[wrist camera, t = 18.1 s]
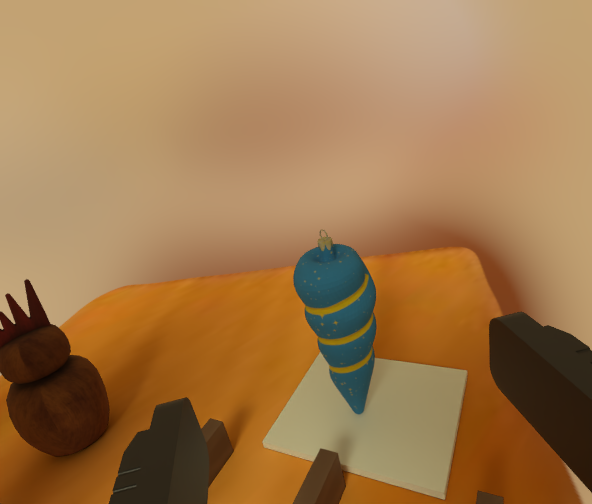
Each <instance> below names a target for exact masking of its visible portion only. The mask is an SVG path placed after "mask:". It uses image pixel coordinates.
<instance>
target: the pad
mask: <svg viewBox="0 0 592 504" xmlns="http://www.w3.org/2000/svg"><path fill="white" fill-rule="evenodd" d="M467 377H468V375H467V370H460V369H453V368H446V367H439V366H431V365H424V364H417V363H409V362H402V361H395V360H388V359H380V358H375V362H374V368H373V373H372V377H371V381H370V386H369V390H368V394H367V399H366V403H365V408H364V411H363V413H361V414H356V413H354V411H353V410H352V409H351V407H350V406H349V404H348V403H347V401H346V400H345V399H344V397H343V396H342V395H341V393H340V392H339V390H338V389H337V388H336V386H335V385H334V383H333V381H332V379H331V377H330V374H329V364H328V363H327V361H326V360H325V358H324V357H323V355H322V353H321V352H320V353H319V355H318V356H317V358H316V359H315V361H314V362H313V364H312V365H311V367H310V369H309V370H308V372H307V373H306V375H305V376H304V378H303V379H302V381H301V383H300V384H299V386H298V387H297V389H296V390H295V392H294V393H293V395H292V396H291V398H290V400H289V401H288V403H287V404H286V406H285V407H284V409H283V410H282V412H281V414H280V415H279V417H278V418H277V420H276V421H275V423H274V424H273V426H272V427H271V429H270V431H269V432H268V434H267V435H266V437H265V438H264V440H263V441H262V442H263V445H264V447H265V448H268V449H271V450H275V451H278V452H282V453H285V454H289V455H292V456H295V457H299V458H302V459H306V460H309V461H313V462H314V460H315V458H316V456H317V454H318V452H319V450H320V448H322V449H326V450H329V451H333V452H337V453H338V456H339V460H340V464H341V468H342V470H344V471H347V472H351V473H354V474H357V475H361V476H364V477H368V478H371V479H375V480H378V481H381V482H385V483H388V484H392V485H395V486H399V487H402V488H406V489H409V490H412V491H416V492H419V493H423V494H426V495H430V496H433V497H437V498H440V499H443V500H445V498H446V492H447V487H448V481H449V476H450V470H451V465H452V459H453V454H454V448H455V443H456V437H457V432H458V426H459V421H460V415H461V410H462V404H463V399H464V393H465V388H466V382H467Z"/></svg>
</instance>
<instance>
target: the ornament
mask: <svg viewBox="0 0 592 504" xmlns="http://www.w3.org/2000/svg"><path fill="white" fill-rule="evenodd" d="M323 231H324V230H323ZM325 233H326V232H325ZM326 235H327V233H326ZM320 236H321V231H320ZM318 246H319V247H316V248H314V249H312V250H310V251H308V252H306V253H305V254H304V255H303V256H302V257H301V258H300V260H299V261H298V263H297V265H296V268H295V271H294V286H295V289H296V292H297V294H298V295H299V297H300V298H301V300H302V301H303V302H304V304H305V317H306V320H307V322H308V324H309V325H310V327H311V328H312V329H313V331H314V332H315V333H316V334H317V336H318V346H319V349H320V351H321V353H322V355H323V357H324V358H325V360H326V361H327V363H328V364H329V374H330V377H331V379H332V381H333V383H334V385H335V386H336V388H337V389H338V390H339V392H340V393H341V395H342V396H343V397H344V399H345V400H346V401H347V403H348V404H349V406H350V407H351V409H352V410H353V411H354V413H356V414H361V413H363V411H364V408H365V403H366V399H367V394H368V390H369V386H370V381H371V377H372V373H373V368H374V362H375V355H374V349H373V346H372V345H373V342H374V338H375V334H376V319H375V316H374V313H373V309H374V306H375V301H376V289H375V285H374V282H373V280H372V278H371V275H370V273H369V271H368V270H367V268H366V266H365V264H364V263H363V261H362V260H361V258H360V257H359V255H358V254H357V252H356V251H354V249H352V248H351V247H349V246H345V245H340V244H333V243H332V239H331V237H328V236H327V237H323V238H322V236H321V239H319V240H318Z"/></svg>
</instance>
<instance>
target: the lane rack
mask: <svg viewBox="0 0 592 504" xmlns="http://www.w3.org/2000/svg"><path fill="white" fill-rule="evenodd" d="M201 430H202V433H203V436H204V438H205V441H206V444H207V448H208V454H209V482H208V487H209V486H210V484H211V483H212V481H213V480H214V478H215V477H216V476H217V474H218V473H219V471H220V470H221V468H222V467H223V466H224V464H225V463H226V461H227V460H228V458H229V457H230V456H231V454H232V453H233V448H232V445H231V443H230V440H229V437H228V435H227V432H226V429H225V427H224V424H223V422H222V421H218V420H214V419H211V418H210V419H209V420H208V422H207V423H206V424H205V425H204V426H203V428H202V429H201ZM345 487H346V485H345V481H344V476H343V472H342V468H341V464H340V460H339V456H338V453H337V452H333V451H329V450H326V449H322V448H320V450H319V452H318V454H317V456H316V458H315V460H314V462H313V464H312V466H311V468H310V470H309V472H308V474H307V476H306V478H305V480H304V482H303V484H302V486H301V488H300V490H299V492H298V494H297V496H296V498H295V500H294V502H293V504H339V501H340V499H341V496H342V494H343V491H344V489H345ZM476 504H503V497H500V496H496V495H493V494H489V493H485V492H482V491H478V492H477V501H476Z"/></svg>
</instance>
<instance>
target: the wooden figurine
mask: <svg viewBox="0 0 592 504" xmlns="http://www.w3.org/2000/svg"><path fill="white" fill-rule="evenodd" d="M24 282H25V288H26V294H27V300H28V306H29V311H30V317H28V316H27V315H26V314H25V312H24V311H23V310H22V309H21V307H20V306H19V305H18V304H17V303H16V301H15V300H14V299H13V298H12V296H11V295H10V294H6V295H5V296H6V299H7V301H8V304H9V307H10V310H11V312H12V314H13V318H14V320H15V323H16V324H13V323H12V322H11V321H10V320H9V319H8V318H7V317H6V316H5V315H4V314H3V313H2V312H0V320H1V323H2V326H3V328H4V329H3V330H1V329H0V372H1V374H2V375H3V376H4V378H5V379H7V380H8V381H10V382H13V383H12V384H11V386H10V389H9V393H8V396H7V399H6V401H7V406H8V411H9V416H10V418H11V420H12V423H13V425H14V427H15V428H16V430H17V431H18V433H19V434H20V436H21V437H22V438H23V439H24V440H25V441H26V442H28V443H29V444H30V445H31V446H33V447H35V448H36V449H38V450H40V451H42V452H45V453H47V454H50V455H52V456H62V455H69V454H72V453H75V452H78V451H80V450H82V449H84V448H86V447H87V446H89V445H90V444H92V443H93V442H95V441H96V440H97V439H98V438H99V437H100V436H101V435H102V434H103V432H104V431H105V429H106V427H107V425H108V419H109V403H108V397H107V393H106V389H105V386H104V384H103V381H102V379H101V377H100V374H99V372H98V370H97V369H96V368H95V366H94V365H93V364H92V363H91V362H90V361H89V360H88V359H86V358H83V357H81V356H76V355H70V352H71V350H70V344H69V341H68V339H67V337H66V335H65V334H64V333H63V332H62V331H61V330H60V329H59V328H58V327H57V326H55V325H52V324H50V322H49V320H48V318H47V315H46V313H45V311H44V309H43V307H42V305H41V303H40V301H39V299H38V297H37V295H36V293H35V291H34V289H33V287H32V285H31V283H30V281H29V280H25V281H24Z"/></svg>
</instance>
